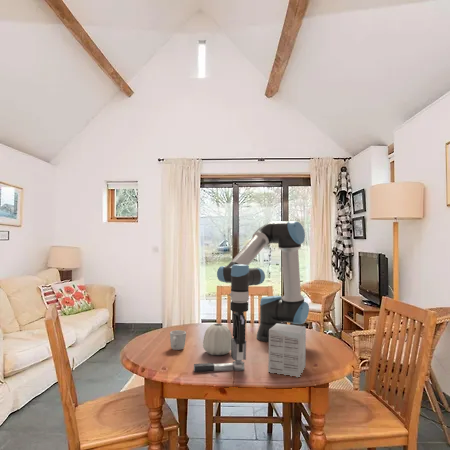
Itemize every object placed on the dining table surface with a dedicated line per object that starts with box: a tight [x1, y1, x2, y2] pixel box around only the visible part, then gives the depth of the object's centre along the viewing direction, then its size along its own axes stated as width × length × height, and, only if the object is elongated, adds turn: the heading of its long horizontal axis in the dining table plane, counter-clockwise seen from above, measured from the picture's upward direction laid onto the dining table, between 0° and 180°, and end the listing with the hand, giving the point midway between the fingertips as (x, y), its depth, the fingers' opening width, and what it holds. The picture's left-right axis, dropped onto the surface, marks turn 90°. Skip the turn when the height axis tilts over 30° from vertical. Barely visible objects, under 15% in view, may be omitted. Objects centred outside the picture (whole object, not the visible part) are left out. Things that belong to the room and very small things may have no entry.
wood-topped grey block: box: [230, 337, 247, 361], centre depth 149 cm, size 5×5×8 cm
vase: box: [202, 323, 233, 356], centre depth 170 cm, size 14×14×13 cm
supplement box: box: [267, 323, 307, 378], centre depth 149 cm, size 13×13×18 cm
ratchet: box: [193, 360, 245, 373], centre depth 147 cm, size 21×5×6 cm, turn 101°
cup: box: [169, 329, 187, 351], centre depth 174 cm, size 11×8×8 cm
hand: (238, 357), depth 149 cm, fingers closed on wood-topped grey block, 5 cm apart
